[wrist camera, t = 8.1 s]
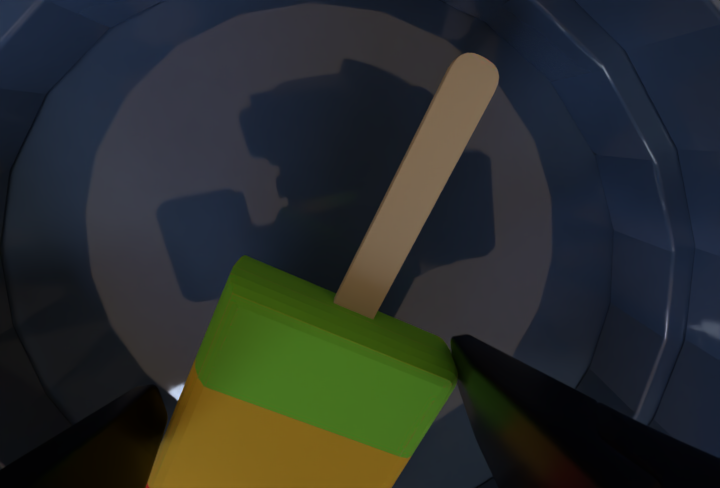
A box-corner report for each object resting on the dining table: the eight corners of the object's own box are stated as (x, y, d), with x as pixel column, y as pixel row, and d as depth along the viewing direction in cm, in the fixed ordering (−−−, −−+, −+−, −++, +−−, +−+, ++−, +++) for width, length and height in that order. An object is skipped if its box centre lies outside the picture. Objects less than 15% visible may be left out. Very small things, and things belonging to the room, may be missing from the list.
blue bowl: (618, 492, 15) (744, 661, 10) (119, 569, 15) (16, 769, 11) (653, -136, 9) (986, -423, 4) (-159, 3, 9) (-680, -126, 5)
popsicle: (135, 519, 11) (95, 594, 9) (349, 1, 8) (351, -39, 6) (307, 569, 12) (301, 646, 10) (572, 124, 9) (635, 123, 7)
